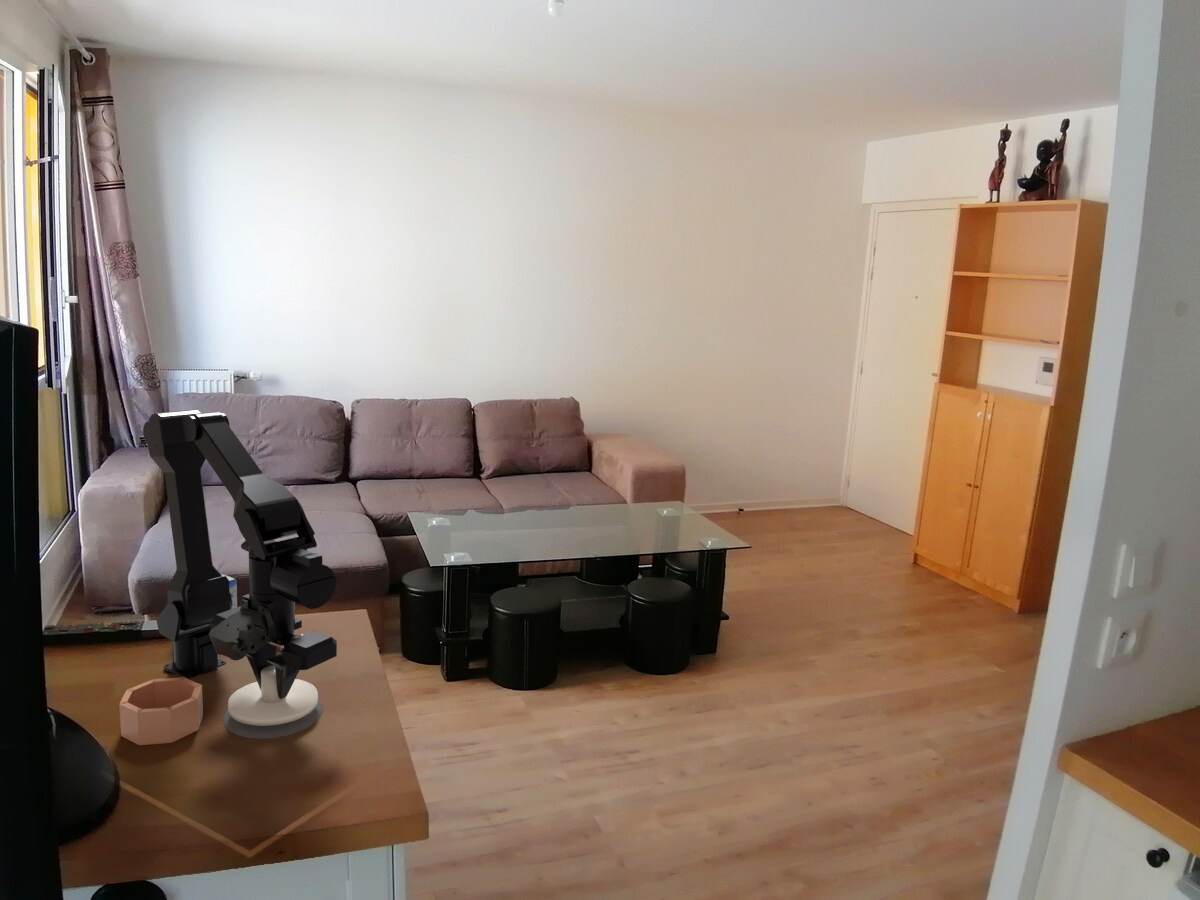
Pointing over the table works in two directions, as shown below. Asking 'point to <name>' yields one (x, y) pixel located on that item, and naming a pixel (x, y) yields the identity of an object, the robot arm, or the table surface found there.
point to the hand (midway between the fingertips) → (273, 693)
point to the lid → (271, 701)
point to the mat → (272, 730)
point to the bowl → (161, 711)
